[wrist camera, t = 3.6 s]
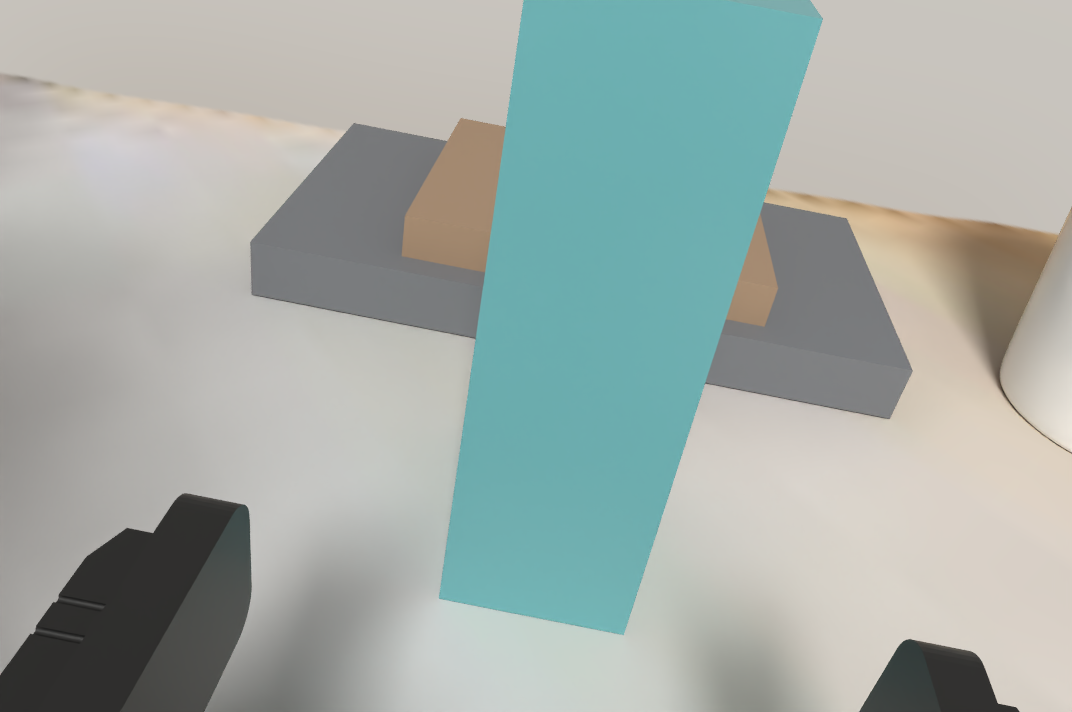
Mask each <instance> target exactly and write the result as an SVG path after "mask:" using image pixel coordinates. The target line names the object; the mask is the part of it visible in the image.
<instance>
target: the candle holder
mask: <svg viewBox="0 0 1072 712" xmlns="http://www.w3.org/2000/svg"><path fill="white" fill-rule="evenodd" d="M1000 382H1001V385H1002V388H1003V390H1004V392H1005V394H1006V396H1007V398H1008V399H1009V401H1010V402H1011V404H1012V405H1013V406H1014V407H1015V409H1016V410H1017V411H1018V412H1019V413H1020V414H1021V415H1022V416H1023V417H1024V418H1025V419H1026V420H1027V421H1028V422H1029V423H1030V424H1031V425H1032V426H1034V427H1035V428H1036V429H1037V430H1039V431H1040V432H1041V433H1042V434H1044V435H1045V436H1046V437H1048V438H1049V439H1051V440H1052V441H1053V442H1055V443H1056V444H1058V445H1060V446H1061V447H1063V448H1064V449H1066V450H1068V451H1069V452H1071V453H1072V208H1071V210H1070V212H1069V214H1068V216H1067V218H1066V220H1065V223H1064V225H1063V227H1062V229H1061V231H1060V233H1059V236H1058V238H1057V240H1056V242H1055V244H1054V246H1053V249H1052V251H1051V253H1050V255H1049V257H1048V260H1047V262H1046V264H1045V266H1044V268H1043V270H1042V273H1041V275H1040V277H1039V279H1038V281H1037V283H1036V286H1035V288H1034V290H1033V292H1032V294H1031V297H1030V299H1029V301H1028V303H1027V305H1026V308H1025V310H1024V312H1023V314H1022V316H1021V319H1020V321H1019V323H1018V325H1017V327H1016V330H1015V332H1014V334H1013V336H1012V339H1011V341H1010V343H1009V346H1008V348H1007V350H1006V353H1005V355H1004V358H1003V361H1002V364H1001V368H1000Z"/></svg>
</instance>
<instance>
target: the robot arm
mask: <svg viewBox="0 0 1072 712" xmlns="http://www.w3.org/2000/svg"><path fill="white" fill-rule="evenodd" d="M251 587H252V585H251V552H250V519H249V511H248V508H247V506H246V505H242V504H237V503H232V502H227V501H222V500H217V499H212V498H207V497H202V496H197V495H192V494H186V493H185V494H182V495H180V496H179V497H178V498H177V499H176V500H175V501H174V503H173V504H172V506H171V507H170V509H169V510H168V512H167V513H166V515H165V516H164V518H163V519H162V521H161V522H160V524H159V525H158V527H157V528H156V530H155V531H154V533H149V532H144V531H139V530H134V529H129V528H126V529H125V530H124V531H122V532H121V533H119V534H118V535H117V536H115V537H114V538H112V539H111V540H110V541H108V542H107V543H105V544H104V545H102V546H101V547H100V548H98V549H97V550H95V551H94V552H93V553H91V554H90V555H88V556H87V557H86V558H85V559H84V561H83V562H82V564H81V565H80V566H79V568H78V569H77V570H76V572H75V573H74V575H73V576H72V577H71V579H70V580H69V581H68V583H67V584H66V586H65V587H64V588H63V590H62V591H61V592H60V594H59V598H58V601H57V602H53V603H52V605H51V606H50V608H49V609H48V610H47V612H46V613H45V614H44V616H43V617H42V619H41V620H40V621H39V623H38V624H37V625H36V630H35V632H34V634H30V635H29V636H28V638H27V639H26V641H25V642H24V643H23V645H22V646H21V647H20V649H19V650H18V651H17V653H16V654H15V656H14V657H13V658H12V660H11V661H10V662H9V664H8V665H7V667H6V668H5V669H4V671H3V672H2V673H1V675H0V712H204V711H205V708H206V706H207V704H208V702H209V700H210V698H211V696H212V694H213V692H214V690H215V688H216V686H217V684H218V682H219V679H220V677H221V675H222V673H223V671H224V669H225V667H226V665H227V663H228V661H229V659H230V657H231V655H232V652H233V650H234V648H235V646H236V644H237V642H238V640H239V638H240V635H241V633H242V630H243V627H244V624H245V621H246V618H247V614H248V610H249V605H250V599H251ZM860 712H1019V710H1018V709H1017V708H1016V707H1012V706H1007V705H1002V704H998V703H997V700H996V697H995V695H994V692H993V689H992V686H991V684H990V681H989V678H988V676H987V673H986V670H985V668H984V665H983V663H982V661H981V660H980V658H979V657H978V656H977V655H976V654H975V653H973V652H971V651H966V650H961V649H956V648H951V647H946V646H941V645H936V644H931V643H926V642H921V641H916V640H911V639H909V640H905V641H903V642H902V643H901V644H900V645H899V647H898V648H897V650H896V652H895V653H894V655H893V656H892V658H891V660H890V661H889V663H888V665H887V666H886V668H885V670H884V671H883V673H882V675H881V676H880V678H879V680H878V681H877V683H876V685H875V686H874V688H873V690H872V691H871V693H870V695H869V696H868V698H867V700H866V701H865V703H864V705H863V706H862V708H861V710H860Z"/></svg>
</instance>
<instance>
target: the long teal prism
mask: <svg viewBox="0 0 1072 712" xmlns="http://www.w3.org/2000/svg"><path fill="white" fill-rule="evenodd" d="M822 20H823V18H822V17H821V15H820V14H819V13H818V11H817V10H816V8H815V7H814V6H813V4H812V3H811V1H810V0H524V2H523V9H522V16H521V23H520V31H519V38H518V44H517V51H516V58H515V66H514V73H513V79H512V87H511V94H510V101H509V108H508V115H507V122H506V129H505V136H504V143H503V150H502V157H501V164H500V171H499V178H498V185H497V192H496V199H495V207H494V214H493V221H492V228H491V235H490V242H489V249H488V256H487V263H486V270H485V277H484V284H483V291H482V298H481V305H480V312H479V319H478V327H477V334H476V341H475V348H474V355H473V362H472V369H471V376H470V383H469V390H468V397H467V404H466V411H465V418H464V425H463V432H462V439H461V447H460V454H459V461H458V468H457V475H456V482H455V489H454V496H453V503H452V510H451V517H450V524H449V531H448V538H447V545H446V552H445V559H444V567H443V574H442V581H441V588H440V595H439V599H444V600H449V601H454V602H459V603H464V604H470V605H475V606H480V607H485V608H490V609H495V610H500V611H505V612H510V613H515V614H520V615H525V616H531V617H536V618H541V619H546V620H551V621H556V622H561V623H566V624H571V625H576V626H581V627H586V628H591V629H597V630H602V631H607V632H612V633H617V634H622V635H624V632H625V629H626V626H627V623H628V620H629V617H630V613H631V610H632V607H633V604H634V601H635V598H636V595H637V592H638V589H639V586H640V583H641V579H642V576H643V573H644V570H645V567H646V564H647V561H648V558H649V555H650V552H651V549H652V546H653V542H654V539H655V536H656V533H657V530H658V527H659V524H660V521H661V518H662V515H663V512H664V508H665V505H666V502H667V499H668V496H669V493H670V490H671V487H672V484H673V481H674V478H675V474H676V471H677V468H678V465H679V462H680V459H681V456H682V453H683V450H684V447H685V444H686V440H687V437H688V434H689V431H690V428H691V425H692V422H693V419H694V416H695V413H696V410H697V406H698V403H699V400H700V397H701V394H702V391H703V388H704V385H705V382H706V379H707V376H708V372H709V369H710V366H711V363H712V360H713V357H714V354H715V351H716V348H717V345H718V342H719V339H720V335H721V332H722V329H723V326H724V323H725V320H726V317H727V314H728V311H729V308H730V305H731V301H732V298H733V295H734V292H735V289H736V286H737V283H738V280H739V277H740V274H741V271H742V267H743V264H744V261H745V258H746V255H747V252H748V249H749V246H750V243H751V240H752V237H753V233H754V230H755V227H756V224H757V221H758V218H759V215H760V212H761V209H762V206H763V203H764V199H765V196H766V193H767V190H768V187H769V184H770V181H771V178H772V175H773V172H774V168H775V165H776V162H777V159H778V156H779V153H780V150H781V147H782V144H783V141H784V138H785V134H786V131H787V128H788V125H789V122H790V119H791V116H792V113H793V110H794V106H795V104H796V100H797V98H798V94H799V91H800V88H801V85H802V82H803V79H804V76H805V73H806V70H807V66H808V64H809V60H810V57H811V54H812V51H813V48H814V45H815V42H816V39H817V36H818V33H819V30H820V26H821V23H822Z"/></svg>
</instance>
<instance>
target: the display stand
mask: <svg viewBox="0 0 1072 712" xmlns="http://www.w3.org/2000/svg"><path fill="white" fill-rule="evenodd" d="M505 129H506V127H504V126H499V125H493V124H488V123H483V122H478V121H473V120H467V119H462V118H461V119H460V120H459V122H458V124H457V126H456V127H455V129H454V131H453V133H452V134H451V136H450V138H449V140H448V141H443V140H438V139H433V138H428V137H423V136H417V135H412V134H407V133H402V132H397V131H392V130H386V129H381V128H376V127H371V126H366V125H360V124H355V123H354V124H353V125H352V126H351V127H350V128H349V130H348V131H347V132H346V133H345V134H344V135H343V136H342V138H341V139H340V140H339V141H338V142H337V143H336V144H335V146H334V147H333V148H332V149H331V150H330V151H329V152H328V154H327V155H326V156H325V157H324V158H323V159H322V160H321V162H320V163H319V164H318V165H317V166H316V167H315V168H314V170H313V171H312V172H311V173H310V174H309V175H308V177H307V178H306V179H305V180H304V181H303V182H302V183H301V185H300V186H299V187H298V188H297V189H296V190H295V191H294V193H293V194H292V195H291V196H290V197H289V198H288V199H287V201H286V202H285V203H284V204H283V205H282V206H281V207H280V209H279V210H278V211H277V212H276V213H275V214H274V215H273V217H272V218H271V219H270V220H269V221H268V222H267V223H266V225H265V226H264V227H263V228H262V229H261V230H260V232H259V233H258V234H257V235H256V236H255V237H254V238H253V240H252V241H251V242H250V243H251V285H252V294H253V295H258V296H263V297H268V298H273V299H279V300H284V301H289V302H294V303H299V304H304V305H309V306H314V307H320V308H325V309H330V310H335V311H340V312H345V313H350V314H355V315H361V316H366V317H371V318H376V319H381V320H386V321H391V322H396V323H402V324H407V325H412V326H417V327H422V328H427V329H432V330H437V331H443V332H448V333H453V334H458V335H463V336H468V337H473V338H476V334H477V327H478V319H479V312H480V305H481V298H482V291H483V284H484V277H485V270H486V263H487V256H488V249H489V242H490V235H491V228H492V221H493V214H494V207H495V199H496V192H497V185H498V178H499V171H500V164H501V157H502V150H503V143H504V136H505ZM912 371H913V370H912V368H911V366H910V363H909V361H908V359H907V356H906V354H905V352H904V349H903V347H902V345H901V343H900V340H899V338H898V336H897V333H896V331H895V329H894V326H893V324H892V322H891V319H890V317H889V315H888V313H887V310H886V308H885V306H884V303H883V301H882V299H881V296H880V294H879V292H878V290H877V287H876V285H875V283H874V280H873V278H872V276H871V273H870V271H869V269H868V266H867V264H866V262H865V260H864V257H863V255H862V253H861V250H860V248H859V246H858V243H857V241H856V239H855V236H854V234H853V232H852V230H851V227H850V225H849V223H848V220H847V219H846V218H841V217H836V216H831V215H826V214H821V213H815V212H810V211H805V210H800V209H795V208H790V207H784V206H779V205H774V204H769V203H763V206H762V209H761V212H760V215H759V218H758V221H757V224H756V227H755V230H754V233H753V237H752V240H751V243H750V246H749V249H748V252H747V255H746V258H745V261H744V264H743V267H742V271H741V274H740V277H739V280H738V283H737V286H736V289H735V292H734V295H733V298H732V301H731V305H730V308H729V311H728V314H727V317H726V320H725V323H724V326H723V329H722V332H721V335H720V339H719V342H718V345H717V348H716V351H715V354H714V357H713V360H712V363H711V366H710V369H709V372H708V376H707V379H706V382H705V383H709V384H714V385H719V386H725V387H730V388H735V389H740V390H745V391H750V392H755V393H760V394H766V395H771V396H776V397H781V398H786V399H791V400H796V401H801V402H807V403H812V404H817V405H822V406H827V407H832V408H837V409H842V410H848V411H853V412H858V413H863V414H868V415H873V416H878V417H883V418H889V419H890V417H891V415H892V413H893V411H894V409H895V407H896V405H897V402H898V400H899V398H900V396H901V394H902V392H903V390H904V388H905V386H906V384H907V382H908V380H909V377H910V375H911V373H912Z"/></svg>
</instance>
